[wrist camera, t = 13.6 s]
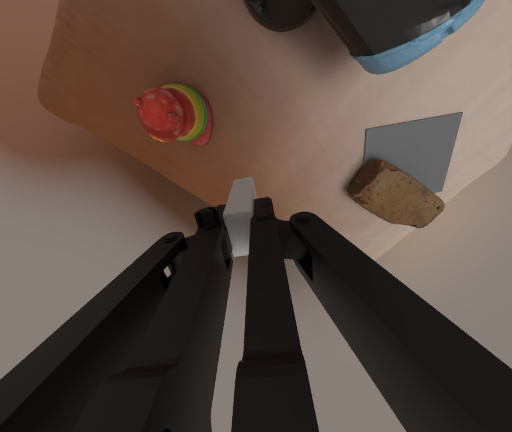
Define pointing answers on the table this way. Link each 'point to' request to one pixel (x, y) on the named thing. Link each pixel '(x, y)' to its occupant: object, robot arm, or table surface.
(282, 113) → the table surface
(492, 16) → the table surface
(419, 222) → the block
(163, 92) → the stacking bear
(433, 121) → the mat
